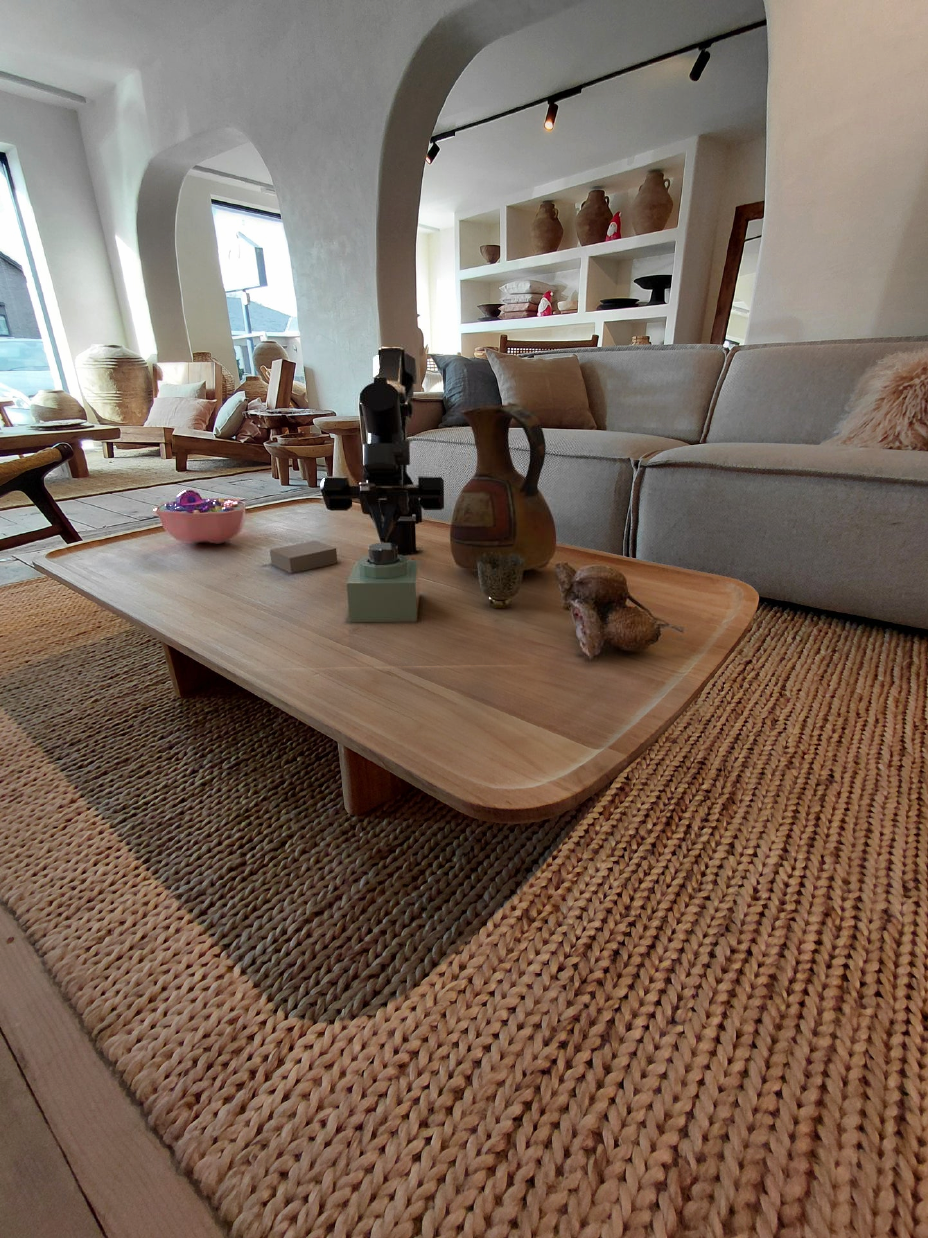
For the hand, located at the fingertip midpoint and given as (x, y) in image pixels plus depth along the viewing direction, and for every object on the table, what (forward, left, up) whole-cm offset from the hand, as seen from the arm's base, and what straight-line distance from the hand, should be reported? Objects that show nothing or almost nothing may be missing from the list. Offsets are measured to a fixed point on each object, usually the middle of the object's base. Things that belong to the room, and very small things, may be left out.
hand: (382, 540), depth 87 cm
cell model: (+25, -54, -11) cm, 61 cm away
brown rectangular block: (+8, -30, -11) cm, 32 cm away
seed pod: (-23, +24, -11) cm, 36 cm away
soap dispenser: (0, 0, -11) cm, 11 cm away
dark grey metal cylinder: (0, 0, -3) cm, 3 cm away
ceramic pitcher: (-26, -11, -11) cm, 30 cm away
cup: (-17, +6, -11) cm, 21 cm away
